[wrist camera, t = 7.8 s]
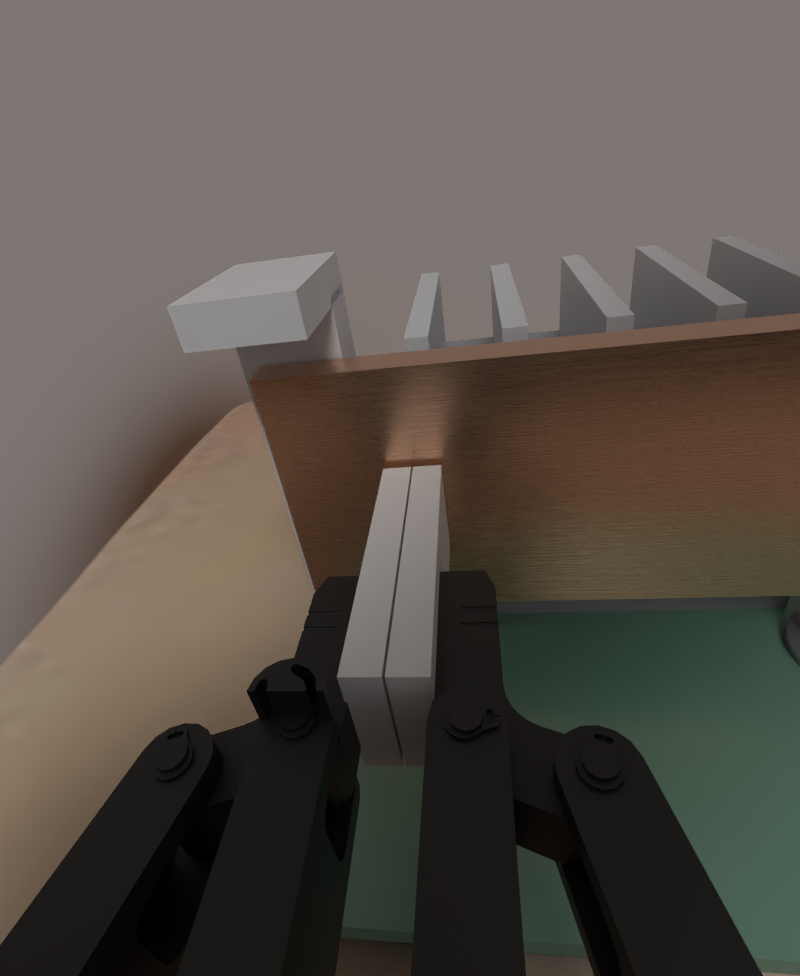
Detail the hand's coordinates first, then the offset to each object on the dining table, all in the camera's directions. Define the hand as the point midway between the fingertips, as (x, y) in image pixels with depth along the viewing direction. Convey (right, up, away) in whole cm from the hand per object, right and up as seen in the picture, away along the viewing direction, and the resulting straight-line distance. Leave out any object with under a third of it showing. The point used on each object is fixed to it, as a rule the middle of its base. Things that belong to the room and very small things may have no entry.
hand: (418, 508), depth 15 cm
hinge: (+6, -5, +3) cm, 8 cm away
